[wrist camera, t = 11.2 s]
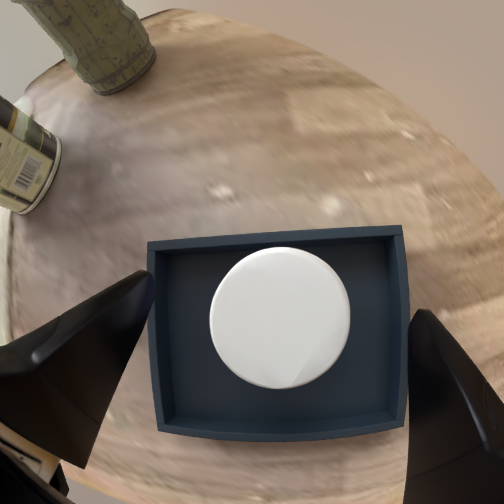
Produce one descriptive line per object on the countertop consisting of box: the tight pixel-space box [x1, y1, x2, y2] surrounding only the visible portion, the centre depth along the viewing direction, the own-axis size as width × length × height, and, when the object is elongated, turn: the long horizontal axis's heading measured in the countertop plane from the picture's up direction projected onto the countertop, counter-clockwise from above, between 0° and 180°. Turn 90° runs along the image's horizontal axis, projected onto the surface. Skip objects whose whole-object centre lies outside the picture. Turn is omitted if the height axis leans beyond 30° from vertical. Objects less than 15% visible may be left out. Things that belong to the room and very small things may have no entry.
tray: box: [147, 225, 410, 442], centre depth 15 cm, size 12×15×3 cm
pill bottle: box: [210, 247, 350, 389], centre depth 12 cm, size 5×5×9 cm
